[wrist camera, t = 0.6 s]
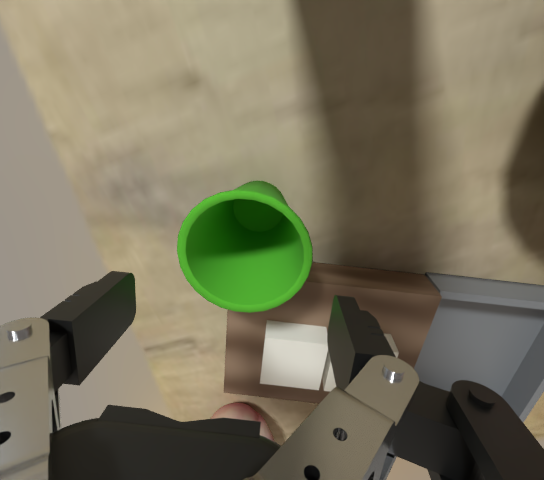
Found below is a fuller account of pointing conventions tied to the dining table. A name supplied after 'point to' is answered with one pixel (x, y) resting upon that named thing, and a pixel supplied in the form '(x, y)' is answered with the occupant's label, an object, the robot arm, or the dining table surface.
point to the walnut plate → (316, 311)
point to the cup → (245, 249)
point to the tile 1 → (294, 355)
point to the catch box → (487, 338)
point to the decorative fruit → (243, 416)
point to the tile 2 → (328, 371)
